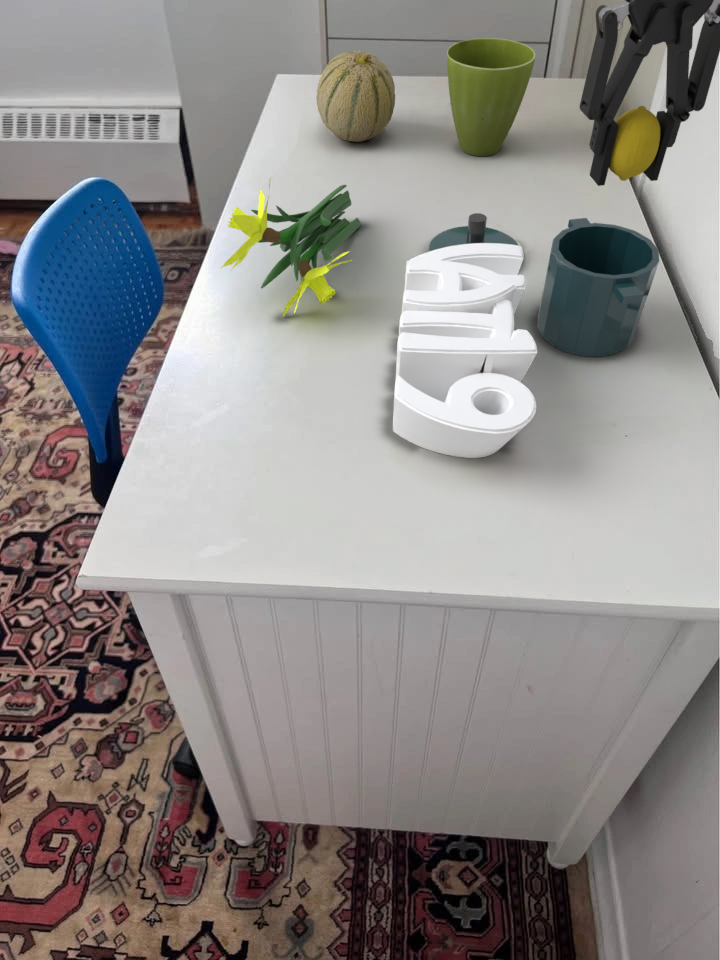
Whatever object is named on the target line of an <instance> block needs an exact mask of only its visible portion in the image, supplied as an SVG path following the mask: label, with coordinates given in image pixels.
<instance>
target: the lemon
mask: <svg viewBox="0 0 720 960" xmlns="http://www.w3.org/2000/svg"><path fill="white" fill-rule="evenodd" d="M615 122H616V123H617V124H618V125H619V127H618V131H617V136H616V140H615V144H614V148H613V152H612V156H611V160H610V165H609V169H608V170H610V171H611V173H613V174H614V175H615V176H617V177H618V178H619V180H620V181H623V182H625V181H627V180H629V179H630V178H634V177H637V176H639V175H641V174H644V173H643V172H644V171H645V170H646V169H647V168H648V167H649V166H650V165H651V163H652V162H653V160H654V158H655V156H656V154H657V151H658V147H659V142H660V125H659V122H658V120H657V118H656V115H655V114H654V113H653V112H652V111H650V110H648V109H647V108H646V106H644V105H639V106H638V107H636V108H633V109H629V110H627V111H625V112H624V113H623V114H621V115H620V116H619V117H617V119H616V120H615Z"/></svg>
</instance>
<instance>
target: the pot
mask: <svg viewBox="0 0 720 960" xmlns="http://www.w3.org/2000/svg"><path fill="white" fill-rule="evenodd" d="M659 264H660V250H659V249H658V247H657V246H656V245H655V243H654V242H653V241H652V240H651V239H650V238H649V237H646V236H645V235H643V234H641V233H640V232H638V231H636V230H634V229H631V228H628V227H624V226H620V225H616V224H609V223H600V222H592V223H591V221H590V220H589V219H588V218H587V217H582V218H571V219H569V220H568V223H567V228H565V229H562V230H561V231H560V232H559V233H558V234H556V236H555V237H554V238H553V239H552V243H551V248H550V252H549V258H548V264H547V268H546V274H545V278H544V283H543V289H542V294H541V298H540V304H539V308H538V309H539V310H538V315H537V322H536V323H537V329H538V332H539V334H540V335H541V337H542V338H543V339H544V340H545V341H546V342H547V343H548V344H550V345H551V346H553V347H555V348H556V349H558V350H560V351H563V352H565V353H568V354H571V355H575V356H581V357H589V358H590V357H592V358H598V357H600V358H601V357H609V356H613V355H615V354H617V353H620V352H623V350H625V349H627V348H628V347H629V346H630V344H632V342H633V340H634V338H635V336H636V334H637V331H638V327H639V325H640V323H641V319H642V316H643V313H644V310H645V306H646V303H647V300H648V297H649V294H650V290H651V287H652V285H653V281H654V278H655V276H656V272H657V270H658V266H659Z"/></svg>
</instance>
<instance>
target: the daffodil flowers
mask: <svg viewBox="0 0 720 960" xmlns="http://www.w3.org/2000/svg"><path fill="white" fill-rule="evenodd" d="M271 179H272V177H271V176H270V178H269V182H268V191H269V192H270V190H271ZM346 187H347V184H341V185H339V186H338V187H337V188H334V190H333V191H331V192H329V194H328V195H326V196H325V197H324V198H323V199H322V200H321V201H320V202H319V203H317V204H316V205H315V206H314V207H313V208H311V210H307V211H304V212H299V213H295V214H288V213H287V212H286V211H284V210H283V209H282V207H280V206H278V205H275V207H276V209H277V211H278V212H279V214H280V215H279V214H272V213H269V212H268V205H269V199H270V195H268V196H267V201H266V197H265V194H264V192H263V191H262V190H261V189H260V190H259V195H258V208H257V209H258V210H257V209H251V210H250V211H251V212H252V213H254V214H255V215H250V214H247V213H245V212H244V211H243V210H242V209H241V208H239V206H237V205H235V207H234V208H235V209H233V213H231V217H229V219H230V221H228V223H229V224H227V227H229V229H230V228H231V229H235V230H239V231H241V232H242V233H243V234H244V235H246V236H247V237H248V238H247V240H245V242H243V244H242V245H241V246H240V247H239V248H238V249H237V250H236V251H235V252H234V253H233V254H232V255H230V257H229V258H228V259H227V260H226V261H225V263H223V265H222V266H221V267H220V268H221V269H222V268H224V267H227V266H231V265H233V264H234V263H235V264H234V265H233V267H231V270H234V269H235V267H237V266H238V265H239V264H242V262H243V261H244V259H245V258H246V257H247V256H248V253H250V250H251V248H252V247H254V246H255V245H256V244H257V243H260V244H262V243H270V245H269V247H273V246H278V245H279V248H280V250H281V252H284V253H286V252H287V253H286V254H285V255H284V256H283V257H282V258H281V259H280V260H279V261H277V263H276V264H275V265H274V267H273V268H272V269H271V270H270V271H269V273H268V274H267V276H266V278H264V280H263V282H262V284H261V286H260V289H261V290H262V289H264V288H265V287H267V286H268V285H270V283H271V282H273V281H274V280H275V279H276V278H277V277H279V275H281V274H282V273H283V272H284V271H285V270H286V269H287V268H289V267H293V273H294V279H295V281H296V282H297V283H298V281H299V275H300V284H299V286H298V287H297V290H296V291H295V292H294V294H293V295H292V296H291V297H290V299H289V300H288V301H287V303H286V305H285V307H284V310H283V315H282V317H285V316H286V314H287V313H288V312H289V310H290V309H291V308H292V306H293V305H294V304H295V308H294V312H293V313H294V314H295V313H296V311H297V309H298V306H299V301H300V299H301V297H302V296H303V295H304V292H305V291H306V290H307V288H309V290H312V291H313V292H314V294H315V296H316V297H317V299H318V301H319V303H320V305H321V306H322V305H325V304H327V301H328V302H330V299H333V296H335V294H337V291H336V289H334V288H333V287H331V286H330V285H329V283H328V281H327V279H326V277H325V276H324V275H326V274H327V273H329V271H330V270H331V269H333V268H336V267H338V266H339V265H341V264H346V263H350V262H352V261H354V259H353V258H352V259H349V260H343V261H340V262H336V261H337V260H339V259H341V258H342V257H344V256H345V255H347V254H348V253H350V252H351V250H350V251H349V250H348V251H346V252H342V253H340V254H339V255H338V256H336V257H335V258H334V256H333V255H332V253H334V252H335V251H336V250H337V249H338V248H339V247H340V246H341V245H342V244H343V243H344V242H345V241H346V240H347V239H349V237H350V236H352V234H354V233H355V232H356V231H357V230H358V229H359V228H361V226H362V223H361V220H360V219H359V218H358V217H355V219H353V220H352V221H351V222H350V221H349V220H347V218H346V217H344V218H341V217H342V216H343V215H344V214H345V213H346V211H345V210H347V209H348V208H349V207H351V206H352V200H351V198H350V192H349V190H346V191H344V192H343V193H340V192H342V191H343V190H344V189H345V188H346ZM265 201H266V204H265ZM268 222H270V223H273V224H274V223H277V224H278V223H286V222H290V223H293V224H291V225H290V226H288V227H286V228H283V229H281V230H275V229H274V228H272V227H268ZM320 251H321V255H322V257H323V260H325V261H330V262H328V263H326V264H324V265H322V266H318V253H319V252H320ZM310 262H311V265H310ZM334 262H336V263H334ZM295 302H296V303H295Z"/></svg>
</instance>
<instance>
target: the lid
mask: <svg viewBox="0 0 720 960" xmlns="http://www.w3.org/2000/svg"><path fill="white" fill-rule="evenodd" d="M487 221H488V217H487V215H486V214H484V213H478V212H477V213H471V214H470V215H469V216H468V221H467V225H465V226H457V227H452V228H449V229H446V230H443V231H442V232H439V233H438V234H436V235H435V236H434V237H433V238H432V239H431V241H430V242H429V245H428V252H429V251H433V250H436V249H440V248H444V247H449V246H455V245H462V244H473V243H499V244H511V245H518V246H520V245H519V244H518V242H517V241H516V240H515V239H514V238H513V237H512V236H510V235H509V234H507V233H505V232H503V231H501V230H498V229H495V228H490V227H487Z"/></svg>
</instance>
